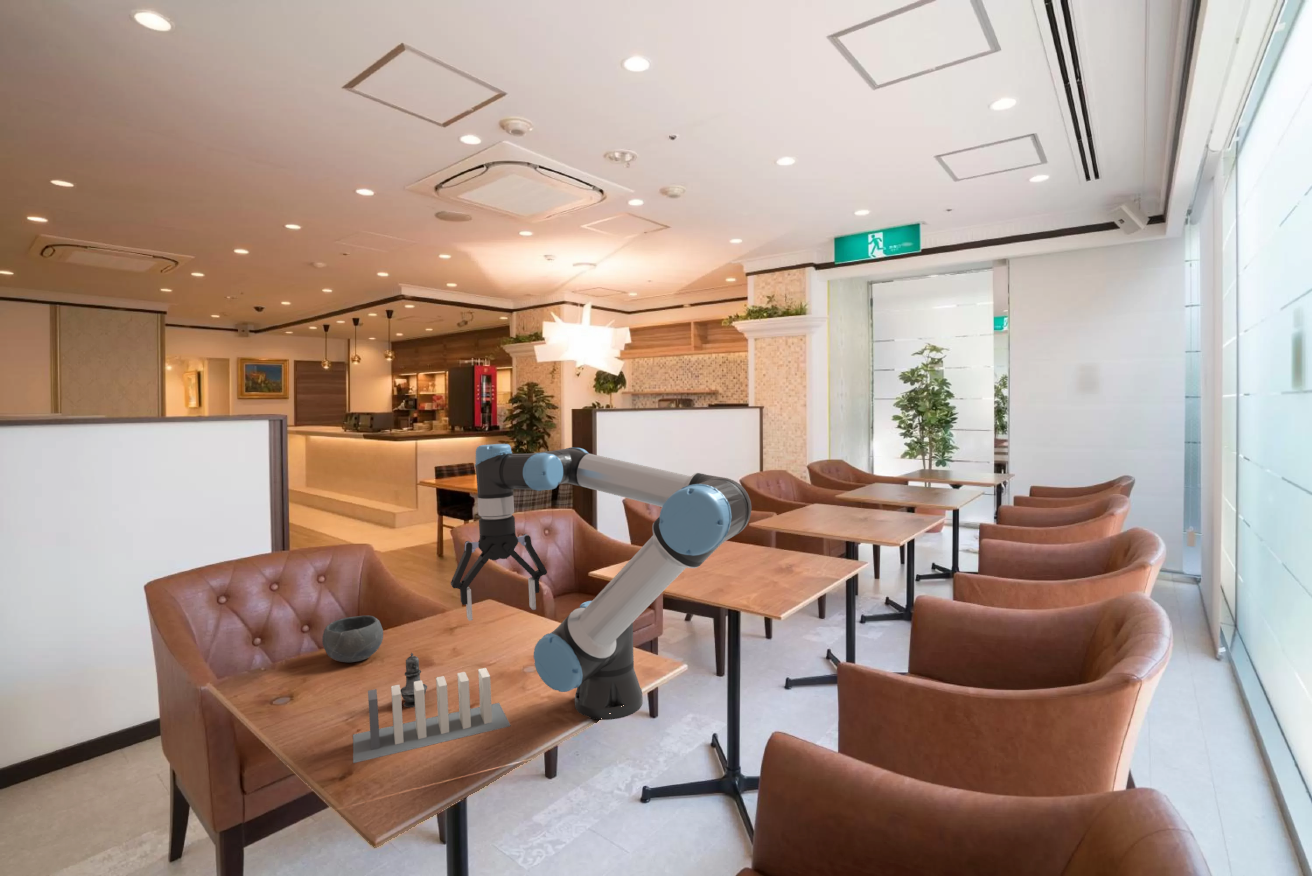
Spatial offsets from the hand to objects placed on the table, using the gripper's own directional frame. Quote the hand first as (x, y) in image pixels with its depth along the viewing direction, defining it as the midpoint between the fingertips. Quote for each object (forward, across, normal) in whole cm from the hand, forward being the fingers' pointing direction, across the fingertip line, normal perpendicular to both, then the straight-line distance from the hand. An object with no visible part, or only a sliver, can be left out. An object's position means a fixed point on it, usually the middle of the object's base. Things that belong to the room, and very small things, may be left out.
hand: (501, 613), depth 141 cm
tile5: (+22, +22, 0) cm, 31 cm away
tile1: (+22, +4, 0) cm, 23 cm away
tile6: (+22, +26, 0) cm, 34 cm away
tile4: (+22, +18, 0) cm, 28 cm away
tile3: (+22, +13, 0) cm, 26 cm away
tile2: (+22, +9, 0) cm, 24 cm away
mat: (+22, +16, 0) cm, 27 cm away
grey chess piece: (+22, +18, -15) cm, 32 cm away
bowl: (+22, +30, -52) cm, 64 cm away
